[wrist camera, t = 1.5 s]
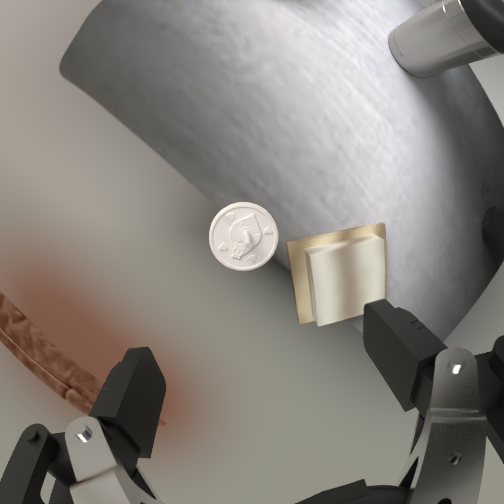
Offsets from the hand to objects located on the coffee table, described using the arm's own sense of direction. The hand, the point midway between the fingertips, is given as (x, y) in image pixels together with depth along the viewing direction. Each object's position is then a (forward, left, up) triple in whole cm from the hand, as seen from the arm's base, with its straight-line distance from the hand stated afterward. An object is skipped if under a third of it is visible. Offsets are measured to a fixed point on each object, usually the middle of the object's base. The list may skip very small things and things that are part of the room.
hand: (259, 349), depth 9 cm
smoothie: (0, 0, -26) cm, 26 cm away
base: (-12, +10, -26) cm, 30 cm away
